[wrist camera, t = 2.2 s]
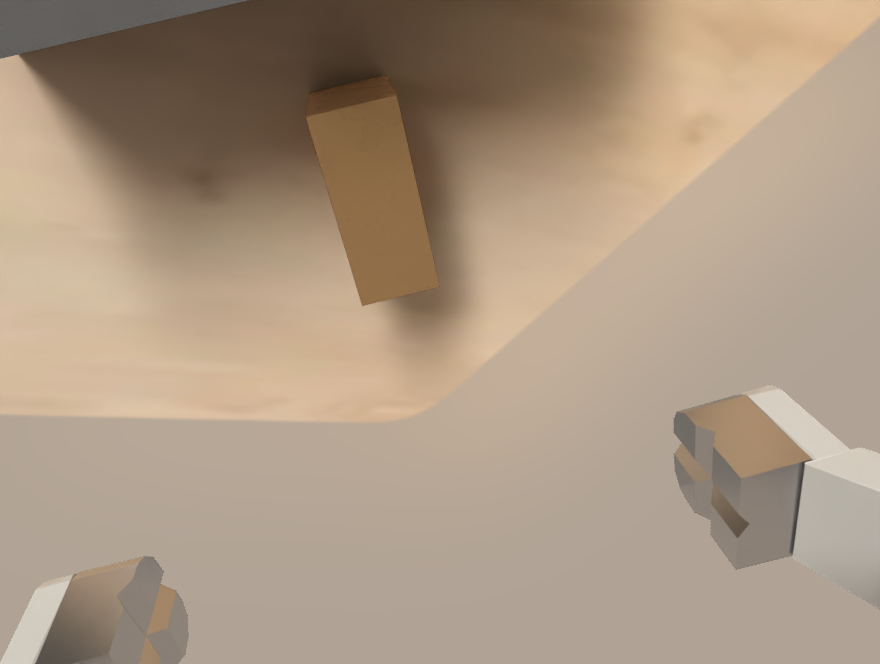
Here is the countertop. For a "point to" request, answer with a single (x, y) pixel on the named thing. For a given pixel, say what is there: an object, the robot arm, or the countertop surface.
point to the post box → (83, 19)
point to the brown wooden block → (372, 188)
